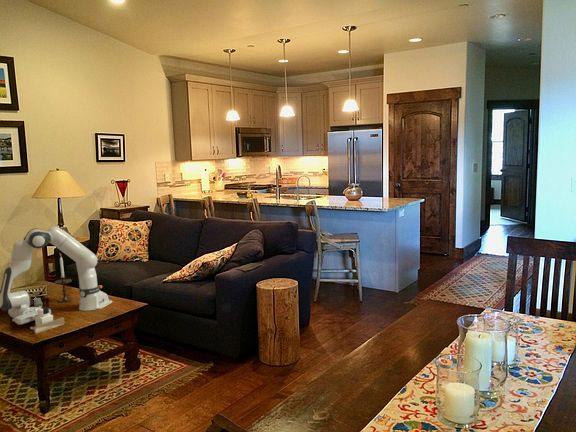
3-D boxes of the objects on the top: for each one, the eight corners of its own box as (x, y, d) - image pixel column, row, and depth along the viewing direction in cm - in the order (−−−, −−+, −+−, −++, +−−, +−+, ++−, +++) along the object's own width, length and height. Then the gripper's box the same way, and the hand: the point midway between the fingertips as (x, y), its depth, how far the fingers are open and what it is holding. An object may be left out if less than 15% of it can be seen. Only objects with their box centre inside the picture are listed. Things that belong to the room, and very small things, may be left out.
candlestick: (53, 302, 337) (48, 253, 332) (64, 297, 347) (59, 250, 342) (65, 303, 334) (61, 254, 329) (76, 298, 344) (72, 250, 339)
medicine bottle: (47, 324, 293) (45, 305, 291) (54, 326, 289) (52, 307, 287) (35, 328, 287) (33, 308, 285) (42, 330, 283) (40, 310, 281)
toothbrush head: (33, 294, 346) (42, 296, 327) (34, 303, 346) (44, 306, 327) (25, 295, 342) (34, 298, 324) (26, 304, 343) (35, 308, 324)
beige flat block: (25, 330, 283) (24, 324, 282) (53, 321, 298) (53, 314, 298) (36, 333, 277) (35, 327, 277) (64, 324, 292) (63, 317, 292)
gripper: (10, 314, 287) (22, 318, 280) (42, 305, 304) (55, 308, 297) (11, 324, 288) (24, 328, 281) (43, 314, 305) (56, 318, 298)
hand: (40, 318), depth 289 cm, fingers closed, pressing on medicine bottle
